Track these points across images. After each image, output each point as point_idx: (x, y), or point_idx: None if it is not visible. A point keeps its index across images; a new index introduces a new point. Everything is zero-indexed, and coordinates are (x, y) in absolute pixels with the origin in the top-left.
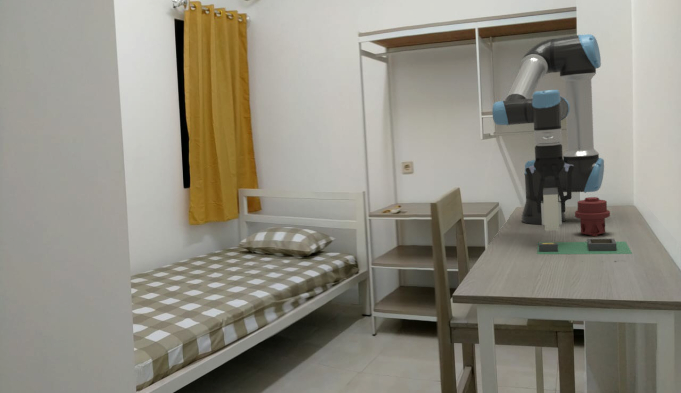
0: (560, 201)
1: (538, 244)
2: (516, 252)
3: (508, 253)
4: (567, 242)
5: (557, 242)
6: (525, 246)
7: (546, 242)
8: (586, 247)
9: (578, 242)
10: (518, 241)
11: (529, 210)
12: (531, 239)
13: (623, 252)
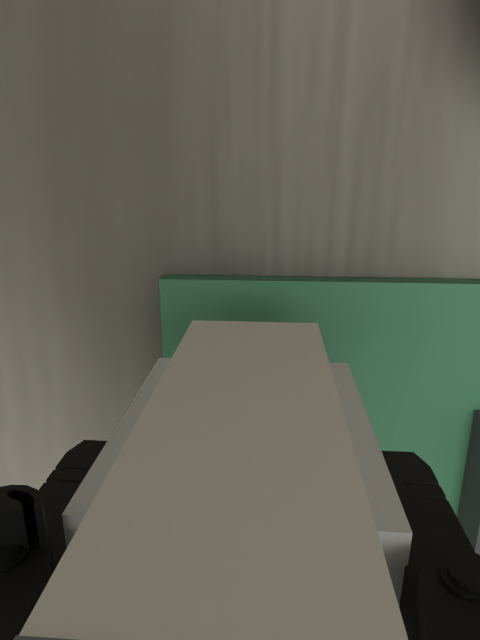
0: (398, 596)
1: (165, 347)
2: (56, 449)
3: (17, 469)
4: (360, 293)
5: (291, 287)
6: (83, 287)
7: (216, 284)
8: (458, 456)
9: (436, 300)
10: (7, 98)
11: None
12: (94, 12)
13: None
